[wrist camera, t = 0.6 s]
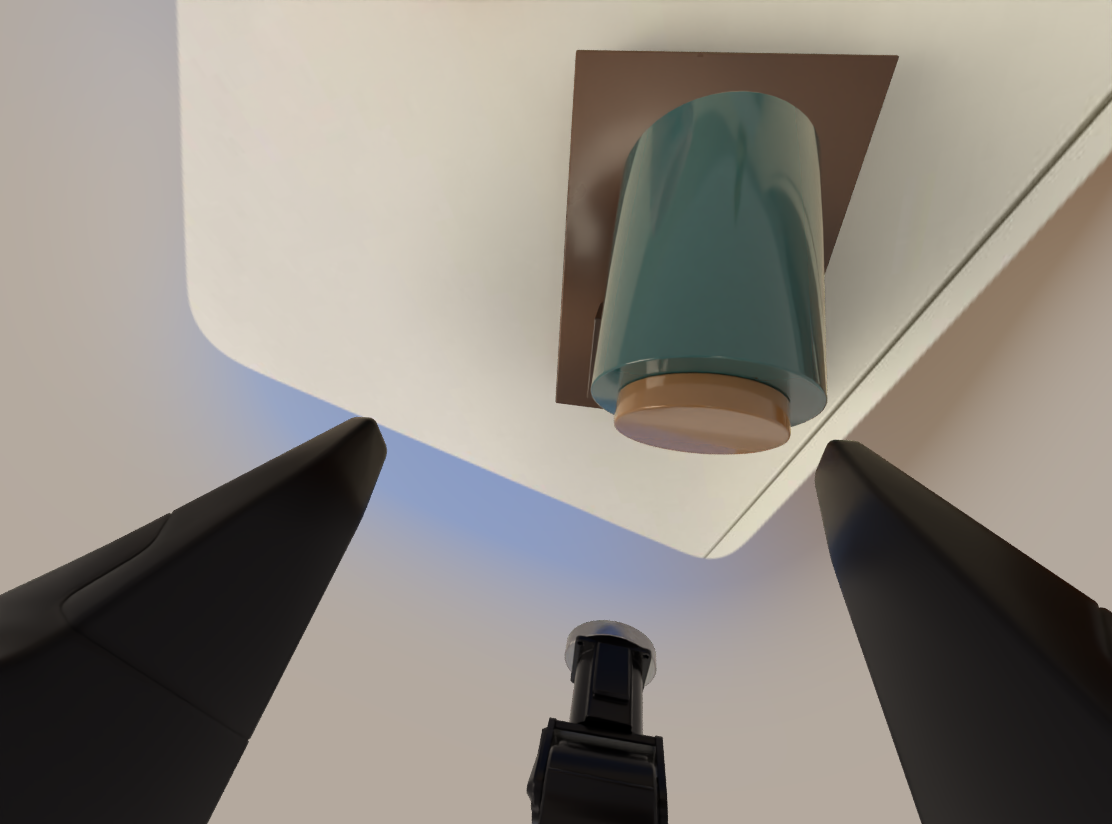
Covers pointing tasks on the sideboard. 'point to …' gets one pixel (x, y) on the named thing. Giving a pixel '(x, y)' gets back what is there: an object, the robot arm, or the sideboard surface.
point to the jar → (717, 280)
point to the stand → (648, 94)
